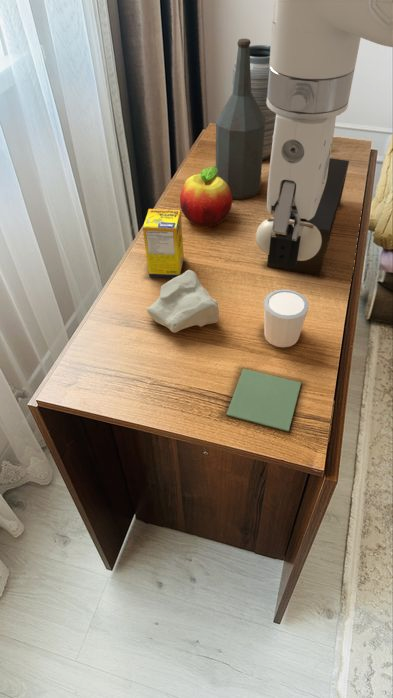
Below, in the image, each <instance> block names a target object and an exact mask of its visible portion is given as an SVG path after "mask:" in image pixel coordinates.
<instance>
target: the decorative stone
mask: <svg viewBox="0 0 393 698" xmlns="http://www.w3.org/2000/svg"><path fill="white" fill-rule="evenodd" d="M146 313H147V314H148V315H149V316H150V317H151V318H152V319H153V320H154V322H155V323H157V324H160V325H162V326H164V327H165V328H167V329H169V330H170V331H171V333H178V332H180V331H181V330H184V329H187V328H190V327H193V326H198V327H199V328H202V327H204V326H206V325H211V324H216V323H218V322H219V320H220V309H219V303H218V301H217V300H216V299H214V298H213V297H212V296H211V295H210V294H209V291H207V289H205V287H204V286H203V285H202V284H201V282H200V279H199V277H198V275H197V274H196V272H195V271H193V270H191V269H187V270H186V271H184V272H183V273H181V275H179V276H177V277H172V279H170V280H168V281H167V282H165V283H164V284H162V285H161V287H160V292H159V297H158V298H157V299H156V300H155V301H154V302H153V303H152V304H151V305H150V306H148V307H147V308H146Z"/></svg>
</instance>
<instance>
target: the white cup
mask: <svg viewBox="0 0 393 698" xmlns="http://www.w3.org/2000/svg"><path fill="white" fill-rule="evenodd" d="M309 305H310V304H309V302H308V299H307V297H305V296H304V295H303V294H302V293H301V292H298V291H295V290H292V289H285V288H281V289H276V290H273V291H271V292H269V293H268V294H267V295H266V296H265V297H264V300H263V330H264V331H263V332H264V333H263V335H264V339H265V340H266V342H268V343H269V344H270V345H272V346H274V347H276V348H289V347H292V346H293V345H295V344H296V343H297V342H298V341H299V339H300V336H301V333H302V330H303V326H304V323H305V320H306V317H307V314H308V311H309Z"/></svg>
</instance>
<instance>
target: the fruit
mask: <svg viewBox="0 0 393 698" xmlns="http://www.w3.org/2000/svg"><path fill="white" fill-rule="evenodd" d="M217 172H218V169H217V168H216V165H213V166H209V167H205V168H203V169H202V170H201V172H200V173H198V174H194V175H193V174H192V175H190V177H188V178H187V179H186V180H185V182H184V183H183V186H182V189H181V192H180V195H179V205H180V210H181V213H183V215H184V217H185V218H186V220H188V221H189V222H190V223H192V224H193V225H195V226H198V227H203V228H209V227H214V226H217V225H218V224H220V223H222V222H223V221H224V220H225V219H226V218H227V217H228V216H229V213H230V212H231V209H232V207H233V199H232V195H231V191H230V188H229V186H228V185H227V183H226V182H225V181H224V180H223V179H221V178H220V177H219V176H217V175H216V174H217Z"/></svg>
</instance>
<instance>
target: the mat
mask: <svg viewBox="0 0 393 698" xmlns="http://www.w3.org/2000/svg"><path fill="white" fill-rule="evenodd" d="M301 386H302V382H300V381H296V380H292V379H289V378H284V377H281V376H280V377H279V376H275V375H272V374H268V373H262V372H260V371H257V370H256V371H255V370H252V369H247V368H242V371H241V373H240V376H239V378H238V381H237V384H236V387H235V390H234V392H233V394H232V399H231V401H230V402H229V406H228V408H227V411H226V416H228V417H231V418H235V419H239V420H242V421H245V422H250V423H253V424H258V425H261V426H265V427H269V428H272V429H276V430H280V431H284V432H290V428H291V425H292V422H293V421H292V420H293V417H294V413H295V409H296V405H297V402H298V397H299V394H300V390H301Z"/></svg>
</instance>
